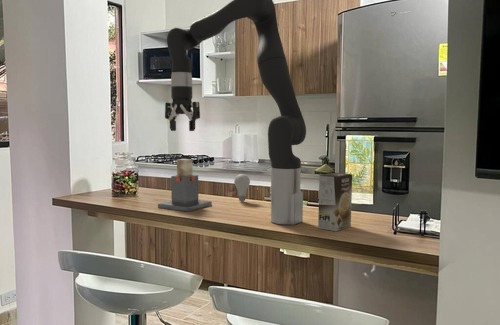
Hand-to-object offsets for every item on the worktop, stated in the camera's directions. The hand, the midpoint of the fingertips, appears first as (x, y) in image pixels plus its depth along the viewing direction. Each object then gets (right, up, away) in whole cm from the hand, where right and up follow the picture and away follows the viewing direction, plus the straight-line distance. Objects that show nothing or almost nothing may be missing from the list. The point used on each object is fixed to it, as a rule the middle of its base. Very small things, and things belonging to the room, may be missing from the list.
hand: (182, 131), depth 164 cm
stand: (0, -28, +3) cm, 28 cm away
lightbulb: (+21, -27, +13) cm, 37 cm away
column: (+1, -26, +3) cm, 26 cm away
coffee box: (+50, -31, -29) cm, 65 cm away
